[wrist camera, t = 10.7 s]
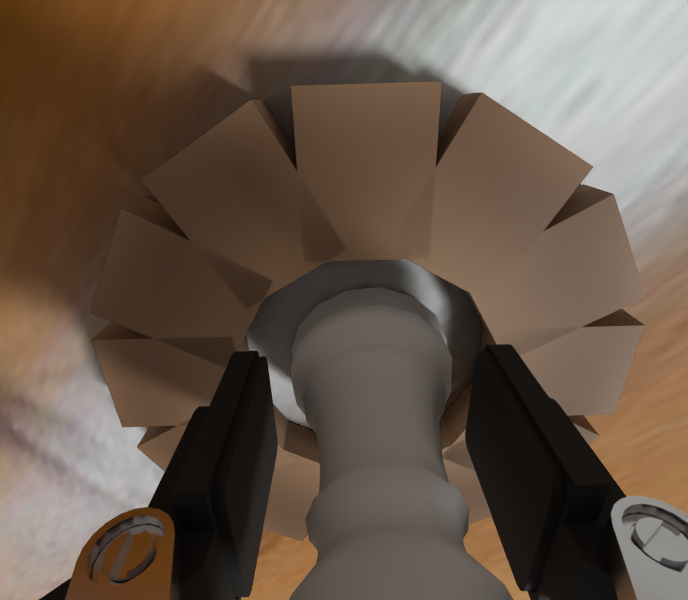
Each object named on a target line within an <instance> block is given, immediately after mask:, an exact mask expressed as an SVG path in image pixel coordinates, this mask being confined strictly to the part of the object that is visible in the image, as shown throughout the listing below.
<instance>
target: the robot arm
mask: <svg viewBox="0 0 688 600" xmlns="http://www.w3.org/2000/svg"><path fill="white" fill-rule="evenodd" d="M465 441H466V446H467V450H468V452H469V455H470V458H471V461H472V463H473V466H474V469H475V472H476V474H477V477H478V480H479V482H480V485H481V488H482V491H483V493H484V496H485V499H486V502H487V504H488V507H489V510H490V513H491V515H492V518H493V521H494V523H495V526H496V529H497V532H498V534H499V537H500V540H501V543H502V545H503V548H504V551H505V554H506V556H507V559H508V562H509V564H510V567H511V570H512V573H513V575H514V578H515V581H516V583H517V586H518V587H519V589H520V590H521V591H528V593H529V596H530V599H531V600H688V515H686V514H685V513H683V512H682V511H680V510H679V509H677V508H675V507H673V506H671V505H668V504H666V503H664V502H662V501H659V500H655V499H652V498H649V497H640V496H630V497H626V496H625V494H624V493H623V491H622V490H621V489H620V487H619V486H618V485H617V483H616V482H615V480H614V479H613V478H612V476H611V475H610V474H609V472H608V471H607V469H606V468H605V467H604V465H603V464H602V463H601V461H600V460H599V458H598V457H597V456H596V454H595V453H594V452H593V450H592V449H591V447H590V446H589V445H588V443H587V442H586V441H585V439H584V438H583V436H582V435H581V434H580V432H579V431H578V430H577V428H576V427H575V425H574V424H573V423H572V421H571V420H570V419H569V417H568V416H567V414H566V413H565V412H564V410H563V409H562V408H561V406H560V405H559V404H558V403H557V402H556V401H555V400H554V399H552V398H549V396H548V395H547V394H546V392H545V391H544V389H543V388H542V387H541V385H540V384H539V382H538V381H537V380H536V378H535V377H534V375H533V374H532V373H531V371H530V370H529V368H528V367H527V366H526V364H525V363H524V361H523V360H522V359H521V357H520V356H519V354H518V353H517V351H516V350H515V349H514V347H513V346H512V345H510V344H498V345H486V346H485V348H484V350H483V351H478V352H477V355H476V360H475V367H474V374H473V382H472V389H471V396H470V403H469V410H468V417H467V424H466V431H465ZM277 449H278V438H277V430H276V423H275V415H274V408H273V400H272V393H271V386H270V378H269V371H268V363H267V358H266V357H265V356H263V357H259V353H258V352H257V351H235V352H233V354H232V356H231V358H230V360H229V363H228V365H227V367H226V369H225V372H224V374H223V376H222V378H221V381H220V383H219V385H218V387H217V390H216V392H215V394H214V397H213V399H212V401H211V403H210V406H199V407H198V408H196V410H195V411H194V413H193V415H192V417H191V419H190V421H189V423H188V425H187V427H186V429H185V431H184V433H183V435H182V437H181V440H180V442H179V444H178V446H177V448H176V450H175V452H174V454H173V456H172V458H171V460H170V462H169V464H168V466H167V469H166V471H165V473H164V475H163V477H162V479H161V481H160V483H159V485H158V487H157V489H156V491H155V493H154V495H153V498H152V500H151V502H150V504H149V506H148V507H145V508H138V509H133V510H130V511H128V512H125V513H122V514H120V515H118V516H117V517H115V518H113V519H112V520H110V521H108V522H107V523H105V524H104V525H103V526H102V527H101V528H100V529H99V530H97V531H96V532H95V533H94V534H93V535H92V536H91V538H90V539H89V540H88V542H87V543H86V544H85V546H84V547H83V548H82V551H81V553H80V555H79V557H78V559H77V562H76V565H75V568H74V571H73V575H72V578H70V579H69V580H67V581H66V582H64V583H63V584H61V585H60V586H58V587H57V588H55V589H54V590H53V591H51V592H50V593H48V594H47V595H45V596H44V597H42V598H41V599H39V600H241V597H249V596H250V593H251V590H252V585H253V580H254V574H255V569H256V563H257V558H258V553H259V547H260V542H261V537H262V531H263V526H264V520H265V515H266V510H267V504H268V499H269V494H270V488H271V483H272V477H273V472H274V467H275V461H276V456H277Z"/></svg>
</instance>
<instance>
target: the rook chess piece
mask: <svg viewBox="0 0 688 600" xmlns="http://www.w3.org/2000/svg"><path fill="white" fill-rule="evenodd" d="M291 353H292V359H293V362H292V365H291V369H290V372H291V378H292V383H293V389H294V394H295V398H296V402H297V405H298V406H299V408H300V409H301V410H302V412H303V413H304V414H305V416H306V421H307V422H308V423H309V425H310V426H311V428H312V429H313V430H314V432H315V433H316V435H317V444H318V454H319V464H320V483H319V494H318V495H317V496H316V497H315V498H314V499H313V502H312V504H311V507H310V509H309V512H308V514H307V516H306V519H305V521H306V526H307V531H308V536H309V540H310V541H311V543H312V544H313V545H314V546H315V548H316V549H317V550H318V558H317V563H316V565H315V566H314V567H313V569H312V570H311V571H310V572H309V574H308V575H307V576H306V577H305V579H304V580H303V581H302V582H301V584H300V585H299V586H298V587H297V589H296V590H295V591H294V592H293V594H292V595H291V596H290V599H289V600H513V598H512V597H511V595H510V593H509V592H508V590H507V588H506V587H505V585H504V584H503V583H502V582H501V581H500V580H499V579H498V578H496V577H495V576H494V575H493V574H492V573H490V572H489V571H488V570H487V569H486V568H485V567H483V566H482V565H481V564H480V563H479V562H478V561H476V560H475V559H474V558H473V557H472V556H470V555H469V554H468V553H467V552H466V550H465V547H464V544H463V539H464V537H465V535H466V533H467V531H468V522H469V508H468V506H467V504H466V502H465V501H464V499H463V497H462V496H461V494H460V492H459V490H458V489H457V488H455V487H454V486H452V485H451V484H449V481H448V477H447V474H446V470H445V466H444V463H443V455H442V446H441V437H440V429H439V421H440V419H441V417H442V415H443V413H444V412H445V403H446V401H447V399H448V397H449V395H450V393H451V376H452V356H451V354H450V352H449V350H448V348H447V338H446V336H445V334H444V332H443V330H442V328H441V326H440V324H439V322H438V320H437V317H436V315H435V314H434V313H433V312H431V311H430V310H429V309H428V308H426V307H425V306H424V305H423V304H421V303H420V302H419V301H418V300H416V299H415V298H414V297H413V296H410V295H407V294H403V293H400V292H396V291H393V290H389V289H386V288H382V287H376V288H364V289H353V290H346V291H344V292H342V293H340V294H338V295H336V296H334V297H332V298H330V299H328V300H325V301H323V302H321V303H319V304H318V305H317V306H316V307H315V308H314V309H313V311H312V312H311V313H310V314H309V315H308V316H307V317H306V318H305V319H304V321H303V322H302V323H301V324H300V325H299V327H298V330H297V334H296V337H295V340H294V344H293V347H292V350H291Z"/></svg>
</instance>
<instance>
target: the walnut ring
mask: <svg viewBox="0 0 688 600" xmlns="http://www.w3.org/2000/svg"><path fill="white" fill-rule="evenodd" d="M441 86H442V81H432V82H400V83H368V84H335V85H303V86H291V95H292V109H293V122H294V135H295V148H296V154H295V152H294V150H293V149H292V147H291V146H290V144H289V142H288V141H287V139H286V138H285V136H284V135H283V133H282V131H281V130H280V128H279V127H278V125H277V123H276V122H275V120H274V119H273V117H272V115H271V114H270V112H269V111H268V109H267V108H266V106H265V104H264V103H263V101H262V100H250V101H248V102H247V103H246V104H244V105H243V106H241V107H240V108H239V109H237V110H236V111H235V112H233V113H232V114H231V115H229V116H228V117H226V118H225V119H224V120H222V121H221V122H220V123H218V124H217V125H216V126H214V127H213V128H211V129H210V130H209V131H207V132H206V133H205V134H203V135H202V136H201V137H199V138H198V139H196V140H195V141H194V142H192V143H191V144H190V145H188V146H187V147H186V148H184V149H183V150H181V151H180V152H179V153H177V154H176V155H175V156H173V157H172V158H171V159H169V160H168V161H166V162H165V163H164V164H162V165H161V166H160V167H158V168H157V169H156V170H154V171H153V172H151V173H150V174H149V175H147V176H146V177H145V178H143V179H142V180H141V181H142V182H143V183H144V184H145V186H146V187H147V188H148V189H149V190H150V192H151V193H152V194H153V195H154V197H155V198H156V199H157V200H158V201H159V203H160V204H159V203H157V202H154V201H152V200H150V199H148V198H146V197H145V198H143V199H140V200H138V201H136V202H134V203H132V204H130V205H127V206H125V207H123V208H121V211H120V214H119V217H118V221H117V224H116V227H115V231H114V234H113V237H112V241H111V244H110V247H109V251H108V254H107V258H106V261H105V264H104V268H103V271H102V274H101V278H100V281H99V284H98V288H97V291H96V294H95V298H94V301H93V305H92V308H91V311H90V313H93V314H95V315H97V316H100V317H102V318H105V319H107V320H110V321H112V322H110V323H109V324H108V325H107V326H106V327H105V328H104V329H103V330H102V331H101V332H100V333H99V334H98V335H97V336H96V337H94V338H93V339H92V340H91V341H92V344H93V346H94V349H95V352H96V355H97V358H98V360H99V363H100V366H101V369H102V372H103V374H104V377H105V380H106V383H107V386H108V388H109V391H110V394H111V397H112V400H113V402H114V405H115V408H116V411H117V414H118V416H119V419H120V422H121V425H122V427H144V426H149V428H148V430H147V431H146V433H145V435H144V436H143V438H142V440H141V441H140V443H139V445H138V446H137V448H138V449H139V450H140V451H142V452H143V453H144V454H145V455H146V456H147V457H148V458H150V459H151V460H152V461H153V462H154V463H155V464H157V465H158V466H159V467H160V468H161V469H162V470H163V471H166V469H167V466H168V464H169V462H170V460H171V458H172V456H173V454H174V452H175V450H176V448H177V446H178V444H179V442H180V440H181V437H182V435H183V433H184V431H185V429H186V427H187V425H188V423H189V421H190V419H191V417H192V415H193V413H194V411H195V410H196V408H198V407H199V406H210V403H211V401H212V399H213V397H214V394H215V392H216V390H217V387H218V385H219V383H220V381H221V378H222V376H223V374H224V372H225V369H226V367H227V365H228V363H229V360H230V358H231V356H232V354H233V352H235V351H249V348H248V342H247V335H246V333H247V331H248V329H249V327H250V325H251V323H252V321H253V319H254V317H255V315H256V313H257V311H258V309H259V307H260V305H261V303H262V301H263V300H264V298H266V297H268V296H269V295H271V294H273V293H274V292H276V291H278V290H280V289H281V288H283V287H285V286H286V285H288V284H290V283H291V282H293V281H295V280H297V279H298V278H300V277H302V276H303V275H305V274H307V273H308V272H310V271H312V270H314V269H315V268H317V267H319V266H320V265H322V264H324V263H325V262H327V261H359V260H394V259H407V260H409V261H410V262H412V263H414V264H416V265H418V266H420V267H422V268H424V269H426V270H427V271H429V272H431V273H433V274H435V275H437V276H439V277H441V278H443V279H444V280H446V281H448V282H450V283H452V284H454V285H456V286H458V287H460V288H461V289H463V290H465V291H466V292H467V294H468V296H469V298H470V300H471V302H472V304H473V305H474V307H475V309H476V311H477V313H478V315H479V317H480V319H481V321H482V323H483V324H484V325H483V332H482V339H481V346H480V351H483V350H484V348H485V346H486V345H498V344H510V345H512V346H513V347H514V349H515V350H516V351H517V353H518V354H519V356H520V357H521V359H522V360H523V361H524V363H525V364H526V366H527V367H528V368H529V370H530V371H531V373H532V374H533V375H534V377H535V378H536V380H537V381H538V382H539V384H540V385H541V387H542V388H543V389H544V391H545V392H546V394H547V395H548V396H549V398H552V399H554V400H555V401H556V402H557V403H558V404H559V405H560V406H561V408H562V409H563V410H564V412H565V413H566V414H567V416H568V417H569V419H570V420H571V421H572V423H573V424H574V425H575V427H576V428H577V430H578V431H579V432H580V434H581V435H582V436H583V438H584V439H585V441H586V442H587V443H588V445H589V444H591V443H592V442H593V441H594V440H595V439H596V438H597V437H598V436H599V435H598V433H597V432H596V431H595V430H594V428H593V427H592V426H591V425H590V423H589V422H588V421H587V419H586V418H585V417H584V416H583V415H610V414H614V412H615V409H616V407H617V404H618V401H619V398H620V395H621V392H622V389H623V386H624V384H625V381H626V378H627V375H628V372H629V369H630V366H631V363H632V361H633V358H634V355H635V352H636V349H637V346H638V343H639V340H640V338H641V335H642V332H643V329H644V326H645V325H643V324H642V323H641V322H639V321H638V320H637V319H635V318H634V317H632V316H631V315H630V314H628V313H627V312H625V311H624V310H623V309H622V308H624V307H626V306H628V305H630V304H632V303H634V302H637V301H639V300H641V299H643V298H645V297H646V296H645V293H644V290H643V287H642V283H641V280H640V277H639V274H638V270H637V267H636V264H635V261H634V258H633V254H632V251H631V248H630V245H629V241H628V238H627V235H626V232H625V229H624V225H623V222H622V219H621V216H620V213H619V209H618V206H617V203H616V200H615V196H614V194H612V193H609V192H606V191H603V190H599V189H596V188H593V187H590V186H587V185H584V184H583V185H581V186H579V185H580V183H581V182H582V181H583V179H584V178H585V177H586V176H587V174H588V173H589V172H590V170H591V169H592V168H593V166H591V165H590V164H588V163H587V162H585V161H584V160H582V159H581V158H579V157H578V156H576V155H575V154H573V153H572V152H570V151H569V150H567V149H566V148H564V147H563V146H561V145H560V144H558V143H557V142H555V141H554V140H552V139H551V138H549V137H548V136H546V135H545V134H543V133H542V132H540V131H539V130H537V129H536V128H534V127H533V126H531V125H530V124H528V123H527V122H525V121H524V120H522V119H521V118H519V117H518V116H516V115H515V114H513V113H512V112H510V111H509V110H507V109H506V108H504V107H503V106H501V105H500V104H498V103H497V102H495V101H494V100H492V99H491V98H489V97H488V96H486V95H485V94H483V93H472V94H464V96H463V98H462V99H461V101H460V103H459V104H458V106H457V108H456V109H455V111H454V113H453V114H452V116H451V118H450V120H449V121H448V123H447V125H446V126H445V128H444V130H443V131H442V133H441V135H440V136H439V138H438V128H439V114H440V100H441ZM578 186H579V187H578ZM577 187H578V188H577ZM472 382H473V381H472ZM472 382H471V383H470V384H469V385H468V387H467V388H466V389H465V390H464V391H463V393H462V394H461V395H460V396H459V397H458V399H457V400H456V401H455V402H454V403H453V405H452V406H451V407H450V408H449V409H448V411H447V412H446V413H445V414H444V415H443V416H442V417H441V419H440V421H439V429H440V437H441V446H442V455H443V463H444V466H445V470H446V474H447V477H448V481H449V484H451V485H452V486H454V487H455V488H457V489H458V490H459V492H460V494H461V496H462V497H463V499H464V501H465V502H466V504H467V506H468V508H469V522H468V525H469V524H472V523H475V522H477V521H480V520H483V519H485V518H488V517H491V516H492V515H491V513H490V510H489V507H488V504H487V502H486V499H485V496H484V493H483V491H482V488H481V485H480V482H479V480H478V477H477V474H476V472H475V469H474V466H473V463H472V461H471V458H470V455H469V452H468V450H467V446H466V441H465V431H466V424H467V417H468V410H469V403H470V396H471V389H472ZM273 408H274V415H275V423H276V430H277V438H278V449H277V456H276V461H275V467H274V472H273V477H272V483H271V488H270V494H269V499H268V504H267V510H266V515H265V520H264V526H263V529H266V530H269V531H272V532H275V533H278V534H281V535H284V536H287V537H290V538H293V539H296V540H300V541H303V540H304V538H305V537H306V536H307V535H308V531H307V526H306V521H305V519H306V516H307V514H308V512H309V509H310V507H311V504H312V502H313V499H314V498H315V497H316V496H317V495H318V494H319V483H320V464H319V454H318V444H317V435H316V433H315V432H314V431H312V430H310V429H307V428H305V427H302V426H299V425H297V424H294V423H292V422H289V421H288V420H287V419H286V418H285V417H284V416H283V415H282V414H281V412H280V411H279V410H278V409H277V408H276V407H275V406H274V404H273Z"/></svg>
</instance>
